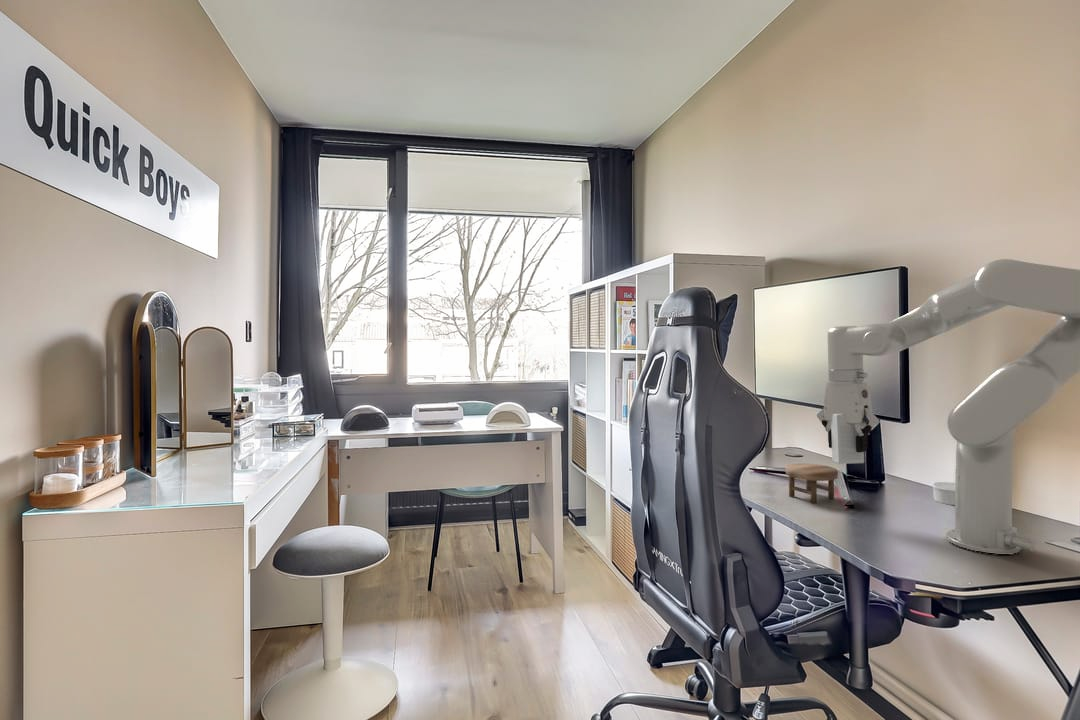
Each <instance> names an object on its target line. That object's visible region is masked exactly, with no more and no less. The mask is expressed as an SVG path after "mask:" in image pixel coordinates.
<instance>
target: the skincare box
mask: <svg viewBox="0 0 1080 720" xmlns="http://www.w3.org/2000/svg"><path fill="white" fill-rule="evenodd" d="M856 436H858V433H857V431H856V429H855V426H854V424H848V423H846V422H845V418H844V415H842V414H833V415H832V421H831V437H832V448H831V457H832V458H831V459H832V462H835V463H837V464H840V465H842V464H843V465H845V464H847V465H848V464H864V463H865V452H860V453H859V452H856Z"/></svg>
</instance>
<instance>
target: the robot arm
mask: <svg viewBox="0 0 1080 720" xmlns="http://www.w3.org/2000/svg"><path fill="white" fill-rule="evenodd" d="M1007 306H1008V307H1009V306H1010V307H1016V308H1021V309H1026V310H1032V311H1036V312H1037V311H1038V312H1043V313H1049V314H1052V315H1053V314H1054V315H1058V316H1059V320H1058V321H1057V323H1056V324H1055V325H1054V326H1053V327H1052V328H1051V329H1050V330H1049V331H1047V333H1045V334H1044V335H1043V336H1041V338H1039V339H1038V341H1037V342H1036V343H1034V344H1033V345H1032V346H1031V347H1030V348H1029V349H1027V350H1026V351H1025V352H1024V353H1022V354H1021V355H1020V356H1019V357H1017V358H1016V359H1014V360H1011V361H1009V362H1007V363H1005V364H1004V365H1001V366H1000V367H999V368H997V369H996V370H995V371H994V372H993V373H991V374H990V375H989V376H988V377H987V378H986V379H984V381H982V382H981V383H980V384H979V385H978V386H977V387H976V388H975V389H974V390H972V391H971V392H970V393H969V394H968V395H966V397H964V398H963V399H962V400H961V401H960V402H959V403H958V404H957V405H955V406H954V407H953V408H952V409H951V410H950V412H949V414H948V417H947V421H946V422H947V423H946V424H947V429H948V432H949V434H950V435H951V436H952V438H953V439H954V440H955V441H956V450H955V482H954V483H955V505H954V507H955V508H954V529H950V530H948V531H946V533H945V538H946V540H947V541H948V542H949V543H950V542H951V544H952V543H953V544H952V545H954V544H955V545H954V546H956V545H958V546H957V547H959V546H960V547H959V548H961V547H964V548H967V549H966V550H968V549H971V550H970V551H972V550H978V551H985V552H994V553H1006V554H1007V553H1016V554H1018V553H1020V552H1021V551H1022V549H1023V550H1027V551H1031V552H1033V551H1034V549H1035V545H1036V544H1035V541H1034V539H1033V538H1030V537H1028V536H1022V535H1020V534H1019V533H1018V527H1016V526H1013V525H1012V522H1013V521H1012V518H1013V515H1012V514H1013V476H1014V475H1013V474H1014V472H1013V471H1014V470H1013V468H1014V467H1013V466H1014V447H1015V445H1014V444H1015V437H1016V436H1015V435H1016V429H1017V428H1018V427H1019V426H1020V425H1022V424H1023V423H1024V422H1026V421H1027V420H1028V419H1029V418H1030V417H1031V416H1033V415H1034V414H1035V413H1036V412H1038V411H1039V410H1040V409H1041V408H1043V407H1044V406H1045V405H1046V404H1048V402H1050V401H1051V399H1053V398H1054V397H1055V396H1056V394H1057V393H1058V391H1060V389H1061V388H1062V387H1064V385H1066V384H1067V383H1068V382H1069V381H1071V379H1073V378H1074V377H1076V375H1078V374H1079V373H1080V269H1077V268H1070V267H1061V266H1055V265H1049V264H1040V263H1033V262H1027V261H1021V260H1015V259H1011V258H1004V259H1003V258H1002V259H1001V258H1000V259H996V260H993V261H990V262H988V263H986V264H985V265H984V266H982V267H981V268H980V269H979V270H978V271H977V273H975V274H973V275H971V276H970V277H968V278H965V279H963V280H961V281H959V282H956V283H955V284H953V285H950V286H948V287H945V288H944V289H941V290H939V291H936V292H935V293H933V294H931V296H929V297H928V298H927V299H926V301H925V302H924V303H922V304H921V305H920V306H919V307H917V308H915V309H914V310H911V311H910V312H908V313H906V314H904V315H902V316H899V317H897V318H895V319H893V320H891V321H888V322H885V323H874V324H873V323H872V324H866V325H861V326H857V325H845V326H843V325H842V326H841V325H840V326H833V327H831V328H829V329H828V330H827V359H828V360H827V362H828V363H827V365H828V366H827V367H828V369H827V370H828V381H826V385H825V389H824V396H823V397H824V399H823V408H822V409H820V411H819V412H818V413H817V414H816V417H817V419H818V420H819V421H820V423H821V425H822V426H823V427H824V428H825V431H826V432H827V441H828V448H830V449H832V437H831V421H832V415H833V414H842V415H844V418H845V422H846V423H848V424H854V426H855V429H856V431H857V433H858V436H856V452H859V453H860V452H864V453H865V452H867V451H868V436H869V435H870V433H871V432H872V431H874V429H875V428H876V427H877V426H878V425H879V424H880V423H881V422H880V419H879V418H878V417H877V416H876V415H875V414H874V413H873V408H872V406H873V405H872V399H871V398H872V397H871V392H870V389H869V385H868V382H864V379H867V378H868V376H869V375H868V373H867V372H864V356H870V357H882V356H889V355H894V354H897V353H900V352H902V351H904V350H906V349H909V348H911V347H913V346H916V345H918V344H920V343H923V342H925V341H928V340H929V339H932V338H935V337H936V336H938V335H941V334H943V333H947V332H951V331H952V330H953V329H956V328H958V327H961V326H963V325H965V324H967V323H970V322H973V321H975V320H976V319H978V318H982V317H984V316H986V315H988V314H990V313H993V312H995V311H998V310H1001V309H1004V308H1006V307H1007ZM964 548H963V549H964ZM1020 550H1021V551H1020ZM1019 551H1020V552H1019ZM1017 552H1018V553H1017Z"/></svg>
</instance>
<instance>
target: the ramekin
mask: <svg viewBox="0 0 1080 720" xmlns="http://www.w3.org/2000/svg"><path fill="white" fill-rule="evenodd" d="M931 487H932V491H933V499H934V501H935V502H938V503H941V504H943V505H947V506H948V505H949V506H955V482H951V481H950V482H949V481H937V482H936V481H935V482H932V483H931Z"/></svg>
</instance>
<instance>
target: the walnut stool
mask: <svg viewBox="0 0 1080 720" xmlns="http://www.w3.org/2000/svg"><path fill="white" fill-rule="evenodd" d="M785 475H787V476H788V496H789V498H794V497H795V495H796V494H795V491H797V492H799V493H804V494H806V495H810V503H811V504H813V505H814V504H818V503H817V501H818V500H817V498H818V495H817V494H818V493H817V492H818V490H817V489H820V490H823V491H826V492H827V495H828V496H827V498H828V500H831V501H832V500H833V501H834V500H835V480H836V479H838V477H839V471H838V469H837V468H835V467H832V466H829V465H828V466H827V465H823V464H818V463H817V464H815V463H792V464H791V463H790V464H787V465H786V466H785ZM795 479H797V480H804V481H805V488H802V487H798V486H795ZM820 481H821V482H824V481H825V482H826V481H828V482H827V483H828V484H827V486H825V485H821V484H818V483H817V482H820Z"/></svg>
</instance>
